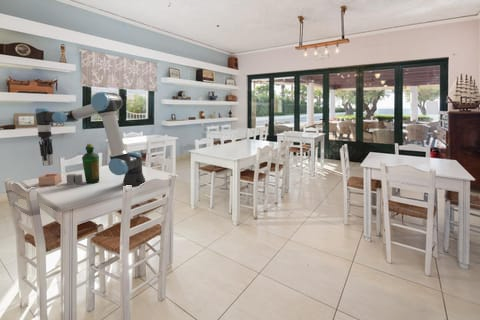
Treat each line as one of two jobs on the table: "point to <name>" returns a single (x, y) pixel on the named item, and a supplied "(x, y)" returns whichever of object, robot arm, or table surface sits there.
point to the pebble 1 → (49, 159)
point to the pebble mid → (70, 178)
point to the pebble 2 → (78, 179)
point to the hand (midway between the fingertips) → (48, 164)
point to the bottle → (91, 165)
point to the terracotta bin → (49, 179)
